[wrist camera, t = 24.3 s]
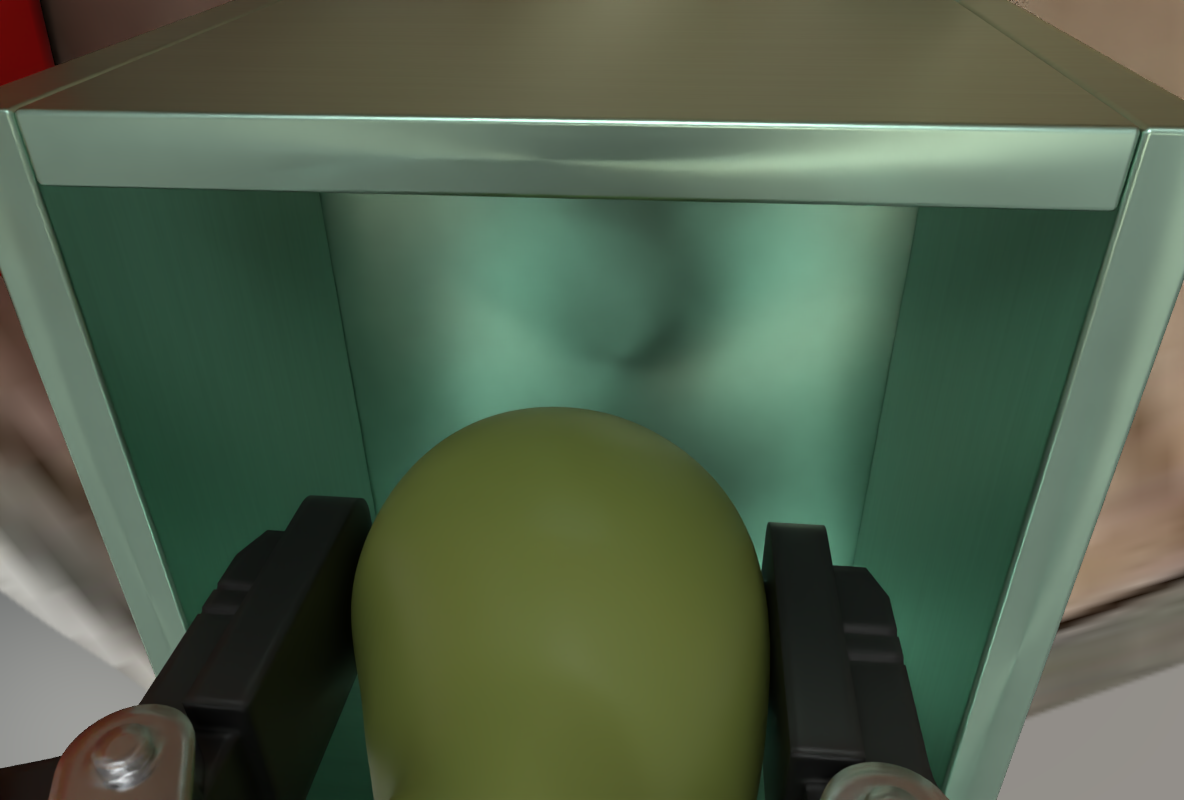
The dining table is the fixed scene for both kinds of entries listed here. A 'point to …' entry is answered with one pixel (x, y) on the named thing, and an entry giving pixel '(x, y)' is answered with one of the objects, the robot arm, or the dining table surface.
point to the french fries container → (22, 40)
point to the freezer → (612, 286)
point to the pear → (561, 620)
